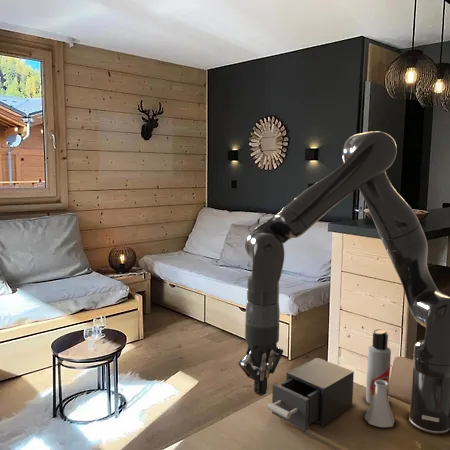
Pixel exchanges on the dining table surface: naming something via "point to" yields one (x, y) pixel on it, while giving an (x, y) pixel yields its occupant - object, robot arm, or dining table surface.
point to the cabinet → (327, 386)
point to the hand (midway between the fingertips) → (260, 393)
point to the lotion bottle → (378, 363)
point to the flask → (380, 407)
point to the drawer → (296, 403)
